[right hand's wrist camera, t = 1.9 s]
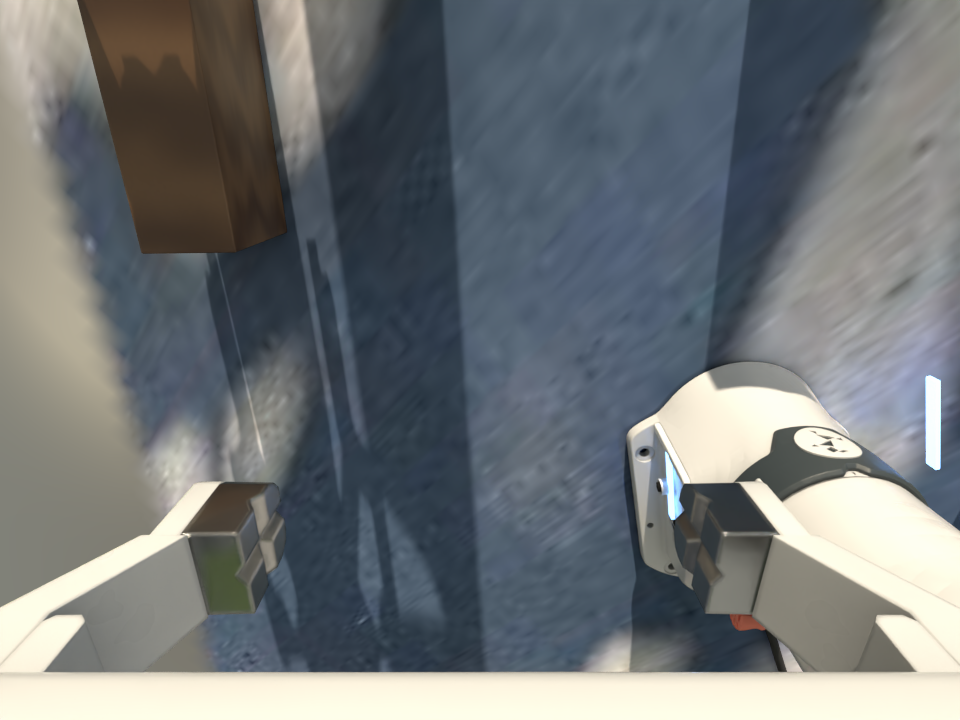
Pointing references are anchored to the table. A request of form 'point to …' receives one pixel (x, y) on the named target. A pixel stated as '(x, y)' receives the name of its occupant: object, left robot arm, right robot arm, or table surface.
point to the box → (188, 121)
